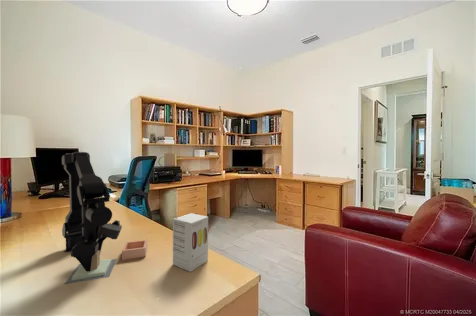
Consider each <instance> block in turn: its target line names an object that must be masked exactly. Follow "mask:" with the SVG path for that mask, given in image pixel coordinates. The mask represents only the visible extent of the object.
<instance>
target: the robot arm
mask: <svg viewBox="0 0 476 316" xmlns="http://www.w3.org/2000/svg"><path fill="white" fill-rule="evenodd" d="M61 165H62V166H63V169H64V171H65V172H66V173H67V175H68V178H69V179H68V180H69V181H68V182H69V187H68V188H69V211H68V213H67V215H65V217H64V219H65V222H63V225H62V229H61V232H62V237H63V238H64V239H65V250H63V253H70V257H72V258H75V259H76V260H77V261H78V263H79V264H81V265H82V266H83V268H84V269H85V270H86V272H88V271H91V266H92V260H93V255H95V254H96V253H97V251H98V250H100V253H101V252H102V249H103V248H102V247H103V244H104V241H105V240H106V239H107V238H109V239H112V240H117V239H118V237H119V236H120V233H121V231H122V228H123V226H122V225H121V224H120V223H121V222H120V221H119V220H114V221H112V223H111V222H110V221H111V220H112V218H113V212H112V210H111V209H110V208H109V207H107V206H106V203H107V202H110V197H111V194H110V192H109V189H108V186H107V185H106V183H105V182H104V181H103V179H102V177H100V176H98V175H96V174H95V173H96V172H95V170H94V168H93V165H92V163H91V155H90V153H89V152H86V151H74V152H72V153H65V154H64V155H62V156H61Z"/></svg>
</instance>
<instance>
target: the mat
mask: <svg viewBox="0 0 476 316" xmlns="http://www.w3.org/2000/svg"><path fill="white" fill-rule="evenodd" d="M111 259H112V258H111ZM117 260H118V258H113V259H112V262H111V264H110V266H109V268H108V270H107V272H106V274H105V275H102V276H96V277H90V278H84V279H77V280H72V276H73V275H74V274H75V272H76V271H77V270H78V268H79V267H80V266H81V264H80V263H79V264H78V265H77V267H75V269H74V270H73V271H72V273H71V274H70V276H69V277H68V278H67V279H66V281H65V282H64V284H63V285H68V284H69V285H70V284H73V283H81V282H86V281H93V280H99V279H100V280H101V279H104V278H105V279H106V278H110V276H111V273H112V272H113V270H114V267H115V264H116V262H117Z"/></svg>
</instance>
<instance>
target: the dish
mask: <svg viewBox="0 0 476 316" xmlns="http://www.w3.org/2000/svg"><path fill="white" fill-rule="evenodd" d="M147 252H148V239H140V240H134V241H133V240H132V241H126V242H125V243H124V246H123V248H122V250H121V260H122V261H129V260H137V259H138V260H139V259H145V258H146V257H147Z"/></svg>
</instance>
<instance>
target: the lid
mask: <svg viewBox="0 0 476 316" xmlns="http://www.w3.org/2000/svg"><path fill="white" fill-rule="evenodd" d="M100 256H101V252H100V250H98V251H97V253H96V254H95V255H93V260H92V266H91V271H88V272H86V270H85V269H84V268H83V266H82V265H81V266H80V267H79V268H78V270H77V271H76V272H75V274H74V275H73V276H72V280H77V279H84V278H90V277H96V276H102V275H105V274H106V272H107V270H108V268H109V266H110V264H111V262H112V258H109V259H100Z"/></svg>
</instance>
